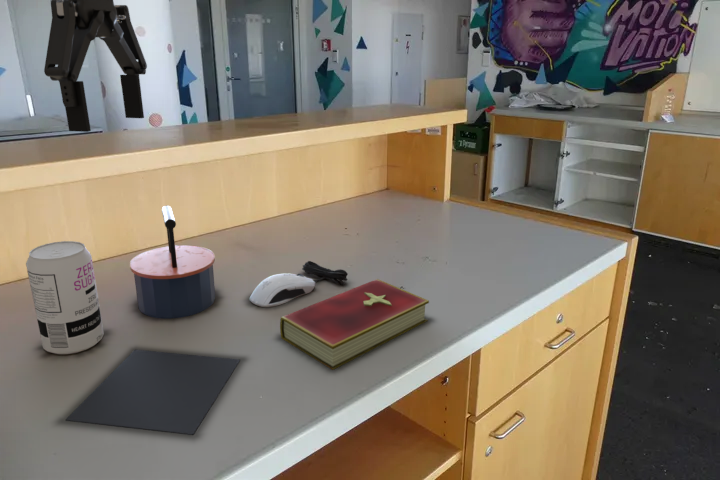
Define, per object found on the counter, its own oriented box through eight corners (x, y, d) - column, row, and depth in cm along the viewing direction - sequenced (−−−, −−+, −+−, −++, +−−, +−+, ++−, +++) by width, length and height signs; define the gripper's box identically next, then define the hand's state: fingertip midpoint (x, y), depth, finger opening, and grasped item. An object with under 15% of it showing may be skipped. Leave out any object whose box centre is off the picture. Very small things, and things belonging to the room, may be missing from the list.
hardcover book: (280, 338, 85) (279, 314, 83) (375, 298, 99) (375, 276, 97) (332, 371, 77) (332, 345, 75) (427, 322, 91) (429, 299, 89)
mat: (65, 422, 66) (65, 419, 65) (135, 351, 80) (134, 349, 80) (193, 437, 64) (193, 434, 63) (240, 361, 78) (240, 359, 78)
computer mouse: (237, 298, 98) (236, 277, 96) (314, 270, 110) (314, 251, 109) (272, 317, 91) (271, 295, 90) (350, 285, 104) (350, 265, 102)
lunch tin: (139, 325, 88) (134, 282, 85) (137, 293, 99) (132, 254, 96) (220, 312, 92) (216, 271, 90) (209, 283, 103) (206, 245, 101)
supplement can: (45, 335, 84) (27, 243, 79) (104, 325, 87) (90, 237, 82) (40, 362, 77) (19, 263, 72) (104, 351, 80) (89, 255, 75)
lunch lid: (131, 287, 85) (123, 229, 81) (130, 256, 97) (123, 204, 93) (220, 275, 90) (216, 220, 86) (209, 247, 101) (205, 197, 98)
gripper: (46, -52, 61) (78, 139, 69) (159, -27, 84) (174, 114, 92) (-13, -51, 63) (24, 136, 70) (115, -27, 86) (132, 112, 93)
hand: (109, 124), depth 81 cm, fingers open, 13 cm apart
